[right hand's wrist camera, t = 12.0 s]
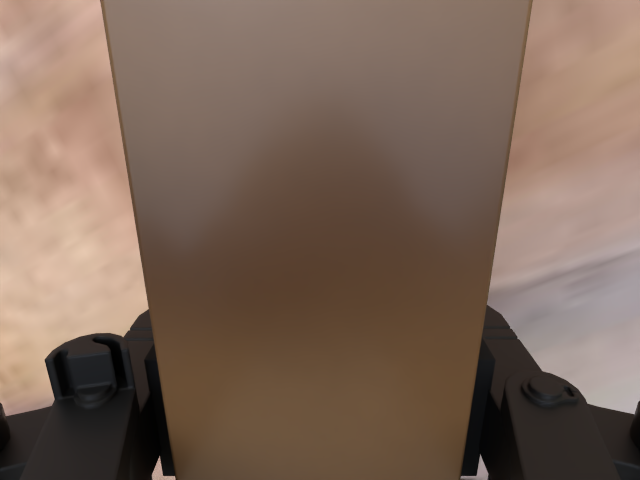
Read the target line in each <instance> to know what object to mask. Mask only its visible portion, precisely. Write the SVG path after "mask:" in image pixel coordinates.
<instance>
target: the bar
mask: <svg viewBox="0 0 640 480" xmlns="http://www.w3.org/2000/svg"><path fill="white" fill-rule="evenodd" d="M100 1H101V7H102V14H103V20H104V26H105V33H106V39H107V46H108V52H109V58H110V65H111V71H112V77H113V84H114V90H115V96H116V103H117V109H118V116H119V122H120V128H121V135H122V141H123V147H124V154H125V160H126V166H127V173H128V179H129V185H130V192H131V198H132V205H133V211H134V217H135V224H136V230H137V236H138V243H139V249H140V255H141V262H142V268H143V274H144V281H145V287H146V294H147V300H148V306H149V313H150V319H151V325H152V332H153V338H154V344H155V351H156V357H157V363H158V370H159V376H160V383H161V389H162V395H163V402H164V408H165V414H166V421H167V427H168V433H169V440H170V446H171V453H172V459H173V465H174V472H175V478H176V480H460V477H461V471H462V464H463V458H464V451H465V444H466V438H467V431H468V425H469V418H470V411H471V405H472V398H473V391H474V385H475V378H476V372H477V365H478V358H479V352H480V345H481V338H482V332H483V325H484V319H485V312H486V305H487V299H488V292H489V286H490V279H491V272H492V266H493V259H494V252H495V246H496V239H497V233H498V226H499V219H500V213H501V206H502V199H503V193H504V186H505V180H506V173H507V166H508V160H509V153H510V147H511V140H512V133H513V127H514V120H515V113H516V107H517V100H518V94H519V87H520V80H521V74H522V67H523V60H524V54H525V47H526V41H527V34H528V27H529V21H530V14H531V7H532V1H533V0H100Z"/></svg>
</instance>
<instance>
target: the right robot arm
mask: <svg viewBox="0 0 640 480" xmlns="http://www.w3.org/2000/svg"><path fill="white" fill-rule="evenodd" d="M45 363H46V367H47V371H48V375H49V379H50V382H51V386H52V390H53V394H54V398H55V400H54V403H53V405H52V406H50V407H46V408H43V409H38V410H34V411H29V412H24V413H20V414H15V415H10V416H5V413H4V410H3V406H2V404H1V403H0V480H152V473H153V471H154V468H155V466H156V463H157V461H158V458H159V456H160V459H161V465H162V471H163V476H175V472H174V465H173V459H172V453H171V446H170V440H169V433H168V427H167V421H166V414H165V408H164V402H163V395H162V389H161V383H160V376H159V370H158V363H157V357H156V351H155V344H154V338H153V332H152V325H151V319H150V313H149V309H148V310H147V311H145V312H144V313H142V314H141V315H139V317H138V318H137V319H136V321H135V322H134V323H133V325H132V326H131V328H130V331H128V332H127V333H126V335H125V336H124V337H122V336H120V335H115V334H111V333H95V334H91V335H86V336H81V337H78V338H76V339H73V340H71V341H68V342H65V343H64V344H62V345H61V346H59V347H57V348H56V349H54V350H53V351H52V352H51V353H50V354H49V355H48V356H47V358H46V359H45ZM480 454H481V457H482V459H483V462H484V464H485V466H486V469H487V471H488V474H489V475H488V480H640V401H639V402H638V405H637V408H636V411H635V415H634V414H630V413H625V412H620V411H616V410H611V409H606V408H601V407H597V406H594V405H590V404H587V402H586V400H585V398H584V397H583V395H582V394H581V393H580V391H579V390H578V389H577V388H576V387H574V386H573V385H572V384H570V383H569V382H568V381H566V380H564V379H562V378H560V377H558V376H555V375H553V374H550V373H546V372H542V370H541V369H540V367H539V366H538V365H537V363H536V362H535V360H534V359H533V358H532V356H531V355H530V354H529V352H528V351H527V349H526V348H525V347H524V345H523V344H522V343H521V341H520V340H519V339H517V336H516V334H515V333H514V332H513V330H512V329H510V326H509V325H508V323H507V322H506V321H505V319H504V318H503V316H502V315H501V314H500V313H498V312H497V311H495V310H494V309H492V308H491V307H489V306H488V305H486V312H485V319H484V325H483V332H482V338H481V345H480V352H479V358H478V365H477V372H476V378H475V385H474V391H473V398H472V405H471V411H470V418H469V425H468V431H467V438H466V444H465V451H464V458H463V464H462V471H461V476H476V475H477V469H478V463H479V457H480Z"/></svg>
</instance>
